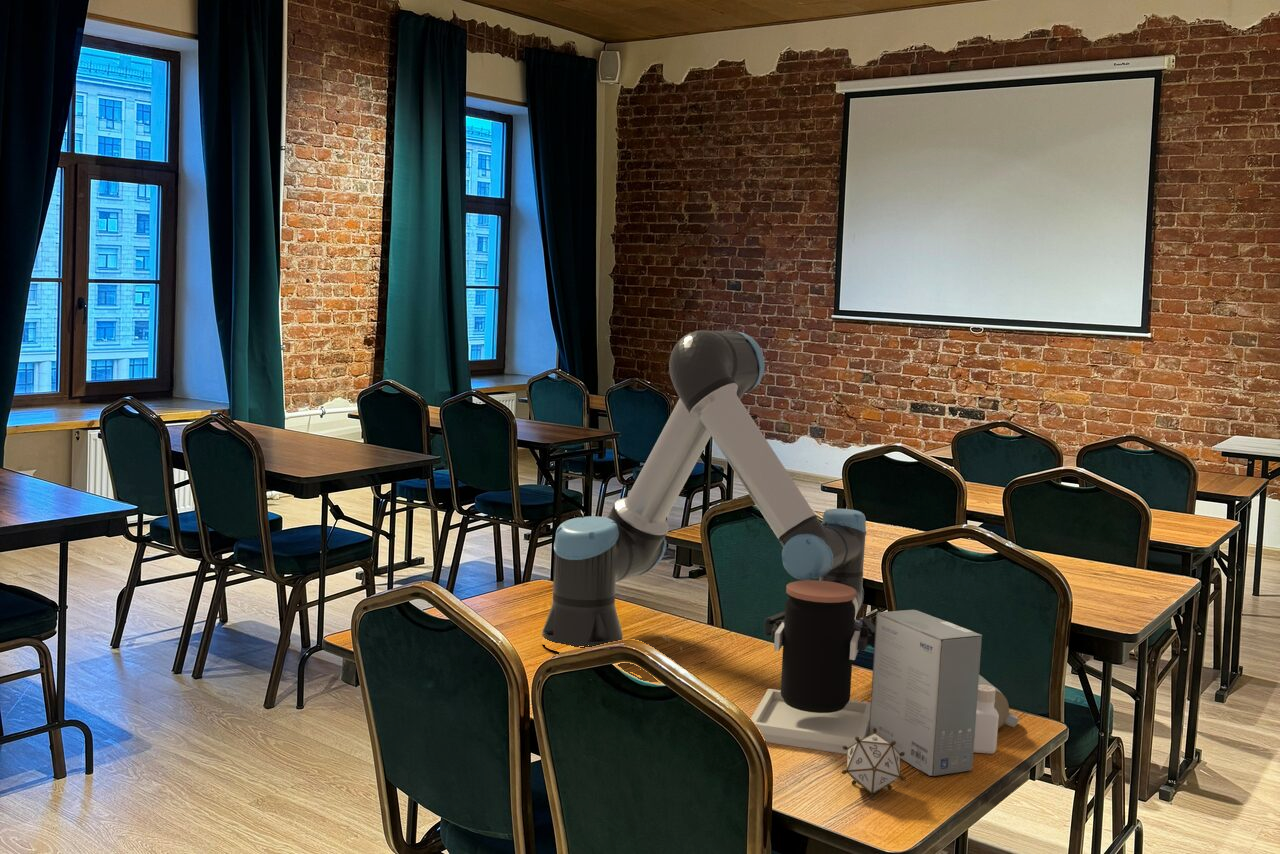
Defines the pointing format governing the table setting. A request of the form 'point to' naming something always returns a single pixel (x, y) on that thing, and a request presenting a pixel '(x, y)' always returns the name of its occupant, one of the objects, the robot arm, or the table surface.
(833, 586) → the coffee jar
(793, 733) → the tray
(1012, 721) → the ceramic mug
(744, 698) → the table surface
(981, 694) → the pepper shaker
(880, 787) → the game die
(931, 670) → the hard drive box
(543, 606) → the table surface
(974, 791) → the table surface
